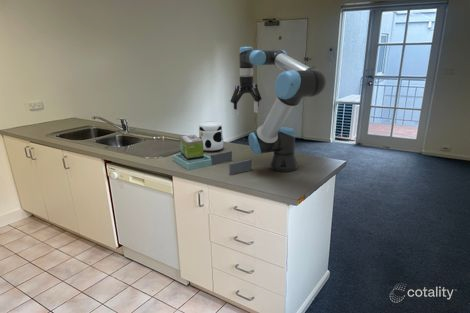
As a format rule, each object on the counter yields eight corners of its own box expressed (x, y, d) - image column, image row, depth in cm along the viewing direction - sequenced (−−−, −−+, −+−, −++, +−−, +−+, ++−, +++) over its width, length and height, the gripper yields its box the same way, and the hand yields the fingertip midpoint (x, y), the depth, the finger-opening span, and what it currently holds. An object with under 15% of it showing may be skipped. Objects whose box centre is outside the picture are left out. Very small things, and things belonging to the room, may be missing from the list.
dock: (251, 169, 180) (251, 159, 178) (230, 175, 172) (230, 164, 171) (230, 160, 197) (230, 150, 195) (210, 164, 189) (210, 154, 187)
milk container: (193, 149, 221) (192, 123, 216) (214, 144, 231) (214, 120, 226) (207, 154, 208) (206, 127, 202) (229, 150, 218) (228, 124, 212)
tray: (213, 164, 189) (213, 158, 188) (188, 170, 180) (188, 164, 179) (196, 156, 206) (196, 150, 204) (173, 160, 197) (173, 155, 196)
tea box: (180, 159, 197) (179, 136, 193) (196, 157, 201) (195, 134, 197) (187, 166, 184) (186, 141, 180) (204, 164, 188) (203, 139, 184)
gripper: (259, 74, 190) (259, 110, 196) (223, 76, 176) (224, 115, 183) (268, 75, 184) (267, 112, 190) (231, 77, 170) (232, 117, 177)
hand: (246, 113), depth 186 cm, fingers open, 13 cm apart
